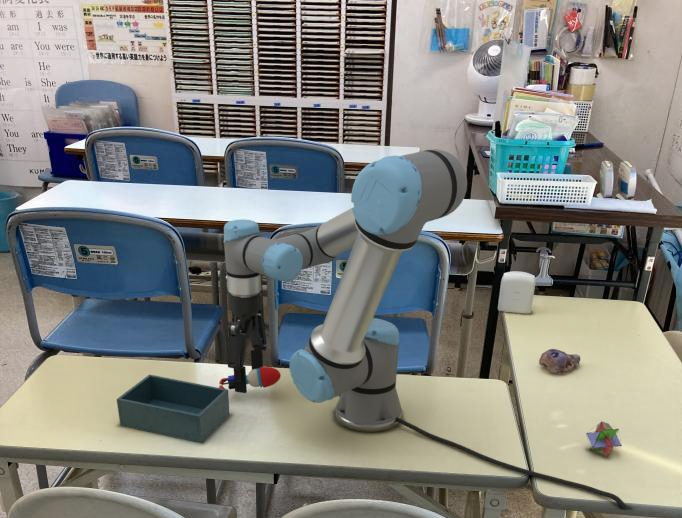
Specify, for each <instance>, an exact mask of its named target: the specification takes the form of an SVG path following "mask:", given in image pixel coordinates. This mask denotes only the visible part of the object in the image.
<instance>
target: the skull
mask: <svg viewBox="0 0 682 518" xmlns="http://www.w3.org/2000/svg"><path fill="white" fill-rule="evenodd" d="M580 362H581V355H579V354H576V353H573V354H569V353H566V351H563V350H560V349H558V348H557V349H555V348H550V349H548V350H546V351H544V352H542V353H541V355H540V357H539V360H538V364H539V365H540V366H542V367H544V368H545V369H547V370H548V371H550V372H551V373H552V374H555V375H557V374H558V375H559V374H563V373H565V372H567V371H570V372H571V371H572V370H574V369H576V368H577V366H578V367H579V366H580V365H581V363H580Z"/></svg>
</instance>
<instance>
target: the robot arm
mask: <svg viewBox="0 0 682 518" xmlns="http://www.w3.org/2000/svg"><path fill="white" fill-rule="evenodd" d="M467 189H468V177H467V173H466V169H465V168H464V166H463V164H462V162H461V161H460V160H459V159H458V158H457V157H456V156H455V155H453V154H452V153H450V152H448V151H447V150H443V149H436V148H435V149H432V148H431V149H426V150H422V151H417V152H412V153H407V154H402V155H388V156H385V157H382V158H380V159H377V160H375V161H372V162H370V163H368V164H367V165H366V166H364V167H363V169H361V170H360V172H359V173H358V175H357V176H356V178H355V180H354V183H353V184H352V189H351V195H350V202H351V203H353V207H351V208H349V209H347V210H345V211H343V212H342V213H339V214H338V215H336V216H334V217H332V218H330V219H329V220H327V221H325V222H323V223H321V224H320V225H318V226H315V227H313V228H312V229H309V230H306V231H303V232H300V233H294V234H291V235H287V236H282V237H279V238H269V237H265V236H262V235H260V232H261V231H260V227H259V224H258V223H257V222H256V221H255V220H252V219H243V218H242V219H233V220H229V221H227V222H226V223H225V224H224V226H223V247H224V248H223V249H224V259H225V260H224V261H225V271H226V273H225V274H226V276H225V280H226V286H227V292H228V293H227V304H228V307H227V308H228V309H229V311H230V312H232V313H233V314H234V317H233V318H234V319H233V320H234V321H233V324H228V325H227V333H228V345H227V348H228V349H227V353H228V354H227V368H228V369H229V368H230V369H233V375H234V383H235V389H234V392H235V393H239V394H240V393H241V394H247V393H248V390H247V389H248V388H247V387H248V386H247V385H248V384H246V375H247V369H246V368H247V367H246V366H244V364H245V357H246V351H247V344H248V339H249V342H250V345H251V348H252V349H251V350H250V363H251V364H250V366H251V370H253V369H257V368H259V369H260V367H264V359H263V352H266V351H267V342H268V341H267V336H266V328H265V321H264V308H263V299H262V298H263V297H262V293H261V291H262V276H265V277H267V278H269V279H272V280H275V281H280V282H283V283H284V282H285V283H287V282H292V281H293V280H295V279H296V277H298V276H299V275H300V274H301V271H303V270H305V269H308V268H312V267H315V266H319V265H323V264H328V263H331V262H333V261H336V260H338V259H339V258H340V257H341V256H342V255H344V254H345V253H348V252H350V254H349V257H348V259H347V261H346V264H345V267H344V270H343V272H342V274H341V278H340V280H339V283H338V285H337V287H336V290H335V293H334V296H333V298H332V300H331V303H330V306H329V309H328V311H327V314H326V316H325V319H324V320H323V324H319V325H317V326H316V327H314V329H313V330H312V332H311V334H310V336H309V339H308V342H307V344H306V346H305V347H304V348H301V349H297V350H296V351H295V352H294V353H293V354H291V356H290V359H289V372H290V376H291V379H292V381H293V384H294V386H295V387H296V389H297V391H298V392H299V393H300V394H301V395H302V396H303V397H304V398H305V399H306V400H308V401H310V402H311V403H316V404H320V403H323V402H326V401H332V400H333V399H334V398H336V397H337V398H338V400H337V403H336V405H335V418H336V420H337V422H338V423H339V424H341V425H342V426H344V427H345V428H347V429H349V430H352V431H357V432H363V433H379V432H384V431H388V430H391V429H393V428H395V427H397V426H398V425H399V424H400V425H403V426H405V427H407V428H408V429H411V430H413V431H415V432H416V433H418V434H421V435H422V436H425V437H427V438H429V439H431V440H434V441H436V442H438V443H441V444H443V445H447V446H449V447H452V448H455V449H457V450H460V451H462V452H464V453H467V454H469V455H471V456H473V457H475V458H477V459H480V460H482V461H485V462H488V463H489V464H493V465H496V466H499V467H501V468H504V469H507V470H511V471H512V472H516V473H519V474H523V475H526V476H530V477H532V478H533V477H534V478H537V479H541V480H545V481H548V482H551V483H556V484H560V485H564V486H568V487H571V488H575V489H579V490H583V491H586V492H588V493H593V494H595V495H598V496H602V497H604V498H608V499H611V500H613V501H614V502H616V504H618V506H619V507H620V509H622V510H625V511H626V510H628V508H627V505H626V504H625V502H624V501H623V500H622V499H621V498H620V497H619V496H617V495H616V494H614V493H611V492H608V491H604V490H601V489H598V488H596V487H592V486H589V485H586V484H582V483H579V482H575V481H571V480H567V479H562V478H559V477H555V476H552V475H548V474H543V473H540V472H536V471H532V470H529V469H526V468H523V467H519V466H516V465H513V464H509V463H507V462H503V461H500V460H497V459H495V458H492V457H489V456H487V455H485V454H482V453H480V452H478V451H475V450H473V449H471V448H468V447H466V446H464V445H462V444H459V443H457V442H454V441H452V440H450V439H449V440H448V439H446V438H443V437H440V436H437V435H435V434H432V433H430V432H428V431H426V430H424V429H422V428H420V427H419V426H416V425H415V424H413V423H411V422H408V421H407V420H404V419H403V418H402V414H403V408H402V405H401V402H400V398H399V394H398V390H397V374H398V373H397V372H398V362H399V361H398V360H399V348H400V347H399V346H400V332H399V329H398V327H397V326H396V325H395V324H394V323H391V322H389V321H387V320H384V319H381V318H376V317H375V315H376V312H377V310H378V308H379V305H380V303H381V301H382V299H383V296H384V294H385V292H386V290H387V288H388V285H389V283H390V281H391V278H392V277H393V274H394V272H395V270H396V268H397V265H398V263H399V262H400V261H399V260H400V258H401V256H402V254H403V252H405V251H409V250H411V249H413V248H414V247H415V246H416V244H417V241H418V239H419V237H420V235H421V233H422V230H423V229H424V226H425V225H426V224H427V223H429V222H433V221H435V220H439V219H441V218H445V217H447V216H450V214H452V213H453V212H455V211H456V210H457V209H458V208H459V207H460V205H462V203H463V201H464V199H465V197H466V193H467V191H468V190H467Z"/></svg>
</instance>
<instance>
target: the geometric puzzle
mask: <svg viewBox="0 0 682 518" xmlns="http://www.w3.org/2000/svg"><path fill="white" fill-rule="evenodd" d="M593 429H594V427H593V428H591V430H593ZM619 431H620V428H614V427H613V426H612V425H610V424H609V423H608V422H605V421H603V420H602V421H600V422H599V423H597V424H596V426H595V431H594V432H592V431H591V432H590V430H589V431H587V432H585V435H586V437H587V438H586V439H587V441H589V442H590V446H589V449H588V450H589V451H592V452H594V453H597V452H598V450H602V452H603V454H602V453H601V452H599V455H602V457H605V458H606V459H607V458H608V457H609V455H611V454H613V452H612V453H611V451H612V450H613V448H617V447H618V448H621V447H622V446H623V444H622V442H621V440H620V439H619V437H618V433H619V435H620V432H619ZM595 451H596V452H595ZM615 451H617V449H615V450H614V452H615Z"/></svg>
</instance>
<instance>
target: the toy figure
mask: <svg viewBox="0 0 682 518" xmlns="http://www.w3.org/2000/svg"><path fill="white" fill-rule="evenodd" d="M281 376H282V375H281V372H280V371H279V370H278V369H277V368H274V367H271V366H263V367H260V369H259V368H257V369H253V370H252V369H251V370H250V371H249V372H248V373H247V374H246V385H250V386H251V387H252V388H259V387H260V388H263V389H265V388H269V387H271V386H273V385H276V384H277V383H278V381H280V379H281ZM218 384H219V386H218V388H222V389H226V388H225V386H223V385H228V386H227V388H228V390H235V383H234V374H232V375H228V376H227V377H222V378H220V380H219V382H218Z"/></svg>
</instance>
